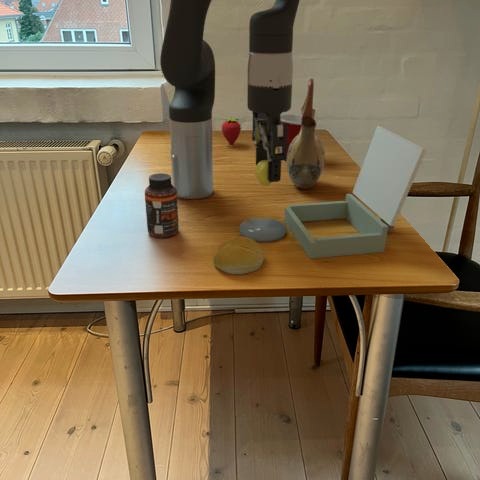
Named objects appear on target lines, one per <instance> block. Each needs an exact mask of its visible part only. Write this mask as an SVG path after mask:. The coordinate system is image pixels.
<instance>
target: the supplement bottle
mask: <svg viewBox="0 0 480 480" xmlns="http://www.w3.org/2000/svg"><path fill="white" fill-rule="evenodd" d="M171 176H172V175H170V174H169V173H160V172H159V173H158V172H157V173H153V174H151V175H149V177H148V183H149V185H148V186H147V187H146V188H145V190H144V202H145V213H146V214H145V215H146V226H147V233H148V234H149V235H150V236H152V237H154V238H160V239H161V238H162V239H163V238H165V239H166V238H170V237H173V236H175V235H176V234H177V233H178V232H179V227H180V226H179V214H178V213H179V211H178V210H179V209H178V208H179V206H178V203H179V202H178V197H177V190H176V188H175V187H174V186H173V183H172V177H171Z"/></svg>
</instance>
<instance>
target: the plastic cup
mask: <svg viewBox="0 0 480 480" xmlns="http://www.w3.org/2000/svg"><path fill="white" fill-rule="evenodd" d="M280 117H281V122H282V124H287V127H288V129H287V152H288V149H289V146H290V144H291V142H292V140H293V139H294V138H295V137H296V136H297V135H298V134H299V132H300V130H301V119H302V114H295V113H281V115H280ZM314 120H315V121H316V122H317V120H316V119H314ZM284 161H285V162H286V160H284Z"/></svg>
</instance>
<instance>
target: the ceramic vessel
mask: <svg viewBox="0 0 480 480" xmlns="http://www.w3.org/2000/svg"><path fill="white" fill-rule="evenodd" d="M314 83H315V82H314V78H309V80H308V84H307V85H308V86H307V91H306V92H307V93H306V97H305V100H304V102H303V104H302V107H301V109H300V110H301V115H302V119H301V130H300V132H299V134H298V135H297V136H296V137H295V138H294V139H293V140H292V142H291V144H290V146H289V149H288V152H287V159H286V161H285V162H286V170H287V174H288V178H289V179H290V182H291V183H292V184H293V185H294V186H296V187H297V188H298V189H303V190H305V189H310V188H311V187H313V186H314V185H315V184H316V183H317V182H318V181H319V180H320V177H321V176H322V174H323V171H324V168H325V167H324V166H325V162H326V161H325V159H326V158H325V156H326V155H325V148H324V144H323V142H322V141H321V139H320V138H319V137H318V136H317V135H316V132H315V131H316V127H317V120H316V119H315V114H316V109H314V108H313V104H314V103H313V102H314V91H315V90H314V85H315V84H314ZM315 120H316V121H315Z"/></svg>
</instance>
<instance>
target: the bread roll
mask: <svg viewBox="0 0 480 480" xmlns="http://www.w3.org/2000/svg"><path fill="white" fill-rule="evenodd" d="M264 258H265V253H264V250H263V248H262V246H261V245H260V244H259V243H258V241H254V240H252V239H251V238H247V237H243V236H232V237H230V238H228V239H226V240H224V241H223V242H222V243H220V245H219V247H218V249H217V251H216V253H215V254H214V256H213V258H212V260H213V261H212V262H213V265H214V266H215V267H216V268H218V269H219V270H221V271H223V272H225V273H226V274H229V275H245V274H249V273H253V272H255V271H257V270H258V269H260V267H261V266H262V264H263V263H264Z"/></svg>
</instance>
